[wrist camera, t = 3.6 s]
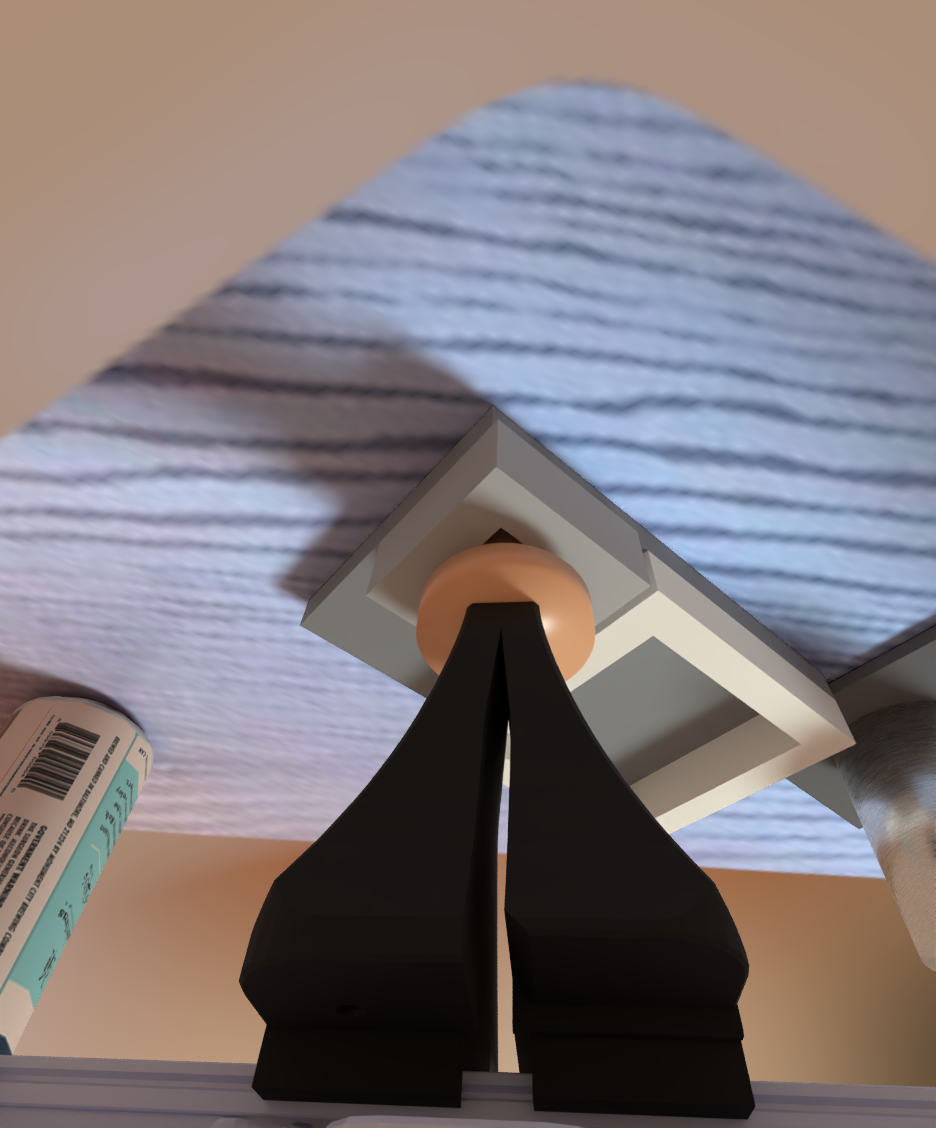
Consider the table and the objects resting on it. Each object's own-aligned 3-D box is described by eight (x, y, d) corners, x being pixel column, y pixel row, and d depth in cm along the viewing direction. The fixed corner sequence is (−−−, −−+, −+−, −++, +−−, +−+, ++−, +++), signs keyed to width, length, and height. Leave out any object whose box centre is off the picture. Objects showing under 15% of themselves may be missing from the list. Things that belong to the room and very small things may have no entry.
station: (828, 670, 20) (870, 755, 18) (619, 786, 24) (631, 868, 22) (499, 399, 15) (496, 466, 13) (308, 601, 19) (280, 679, 17)
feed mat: (1062, 730, 21) (1070, 740, 21) (854, 818, 25) (859, 828, 24) (948, 618, 19) (956, 628, 18) (734, 734, 22) (737, 745, 22)
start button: (614, 539, 16) (633, 634, 13) (511, 621, 18) (511, 719, 15) (499, 448, 15) (497, 535, 12) (400, 547, 16) (380, 641, 14)
